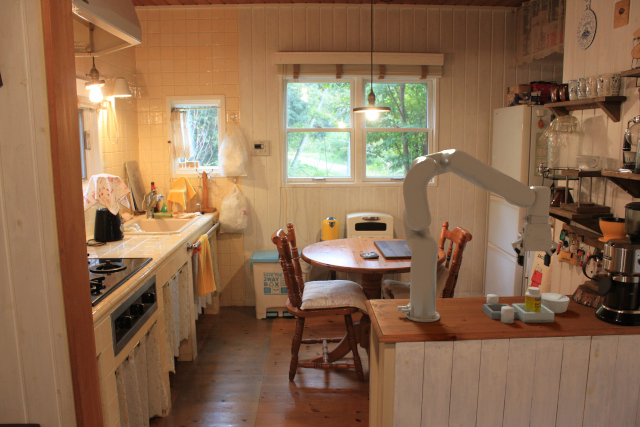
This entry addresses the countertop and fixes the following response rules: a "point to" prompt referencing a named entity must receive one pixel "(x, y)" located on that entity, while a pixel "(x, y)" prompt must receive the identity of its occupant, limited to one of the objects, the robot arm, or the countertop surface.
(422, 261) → the robot arm
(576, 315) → the countertop surface
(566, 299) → the ramekin
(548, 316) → the tray
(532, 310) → the supplement bottle
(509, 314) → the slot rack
